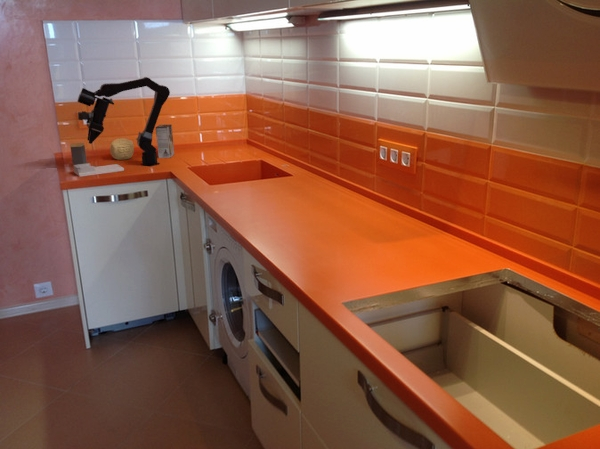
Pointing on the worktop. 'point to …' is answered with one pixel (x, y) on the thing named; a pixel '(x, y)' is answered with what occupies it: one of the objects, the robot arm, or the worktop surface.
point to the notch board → (95, 169)
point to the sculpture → (122, 149)
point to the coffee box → (164, 141)
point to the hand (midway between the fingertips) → (89, 141)
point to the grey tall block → (78, 153)
